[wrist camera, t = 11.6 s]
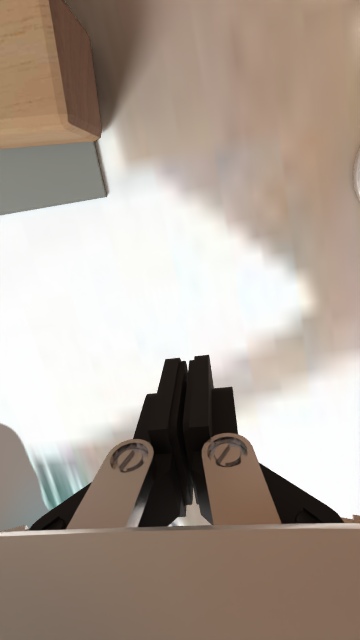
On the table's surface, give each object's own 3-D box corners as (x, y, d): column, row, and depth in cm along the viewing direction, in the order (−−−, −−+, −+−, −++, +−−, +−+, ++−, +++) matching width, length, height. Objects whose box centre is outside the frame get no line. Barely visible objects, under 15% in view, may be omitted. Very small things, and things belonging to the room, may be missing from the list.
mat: (59, -14, 32) (56, -18, 32) (106, 196, 40) (105, 196, 39) (-113, 32, 35) (-118, 30, 34) (-39, 221, 42) (-42, 222, 42)
